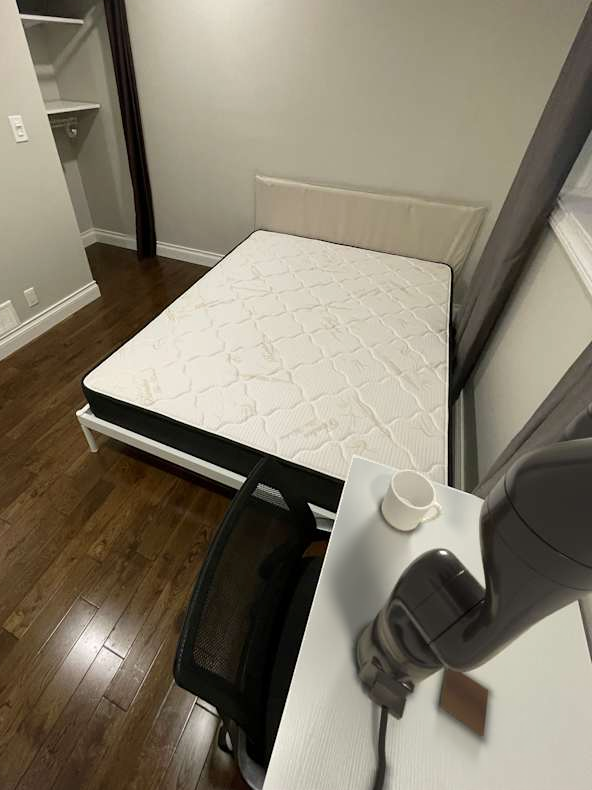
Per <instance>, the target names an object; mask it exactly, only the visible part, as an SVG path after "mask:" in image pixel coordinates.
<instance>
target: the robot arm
mask: <svg viewBox="0 0 592 790" xmlns="http://www.w3.org/2000/svg"><path fill="white" fill-rule="evenodd" d="M478 539H479V551H480V557H481V564H482V570H483V576H484V577H483V578H484V584H485V585H484V586H485V587H484V586H483V585H482V583H481V582H480V581H479V580H478V579H477V578H476V577H475V575H474V574H473V573H472V572H471V571H470V570H469V569H468V568H467V567H466V565H464V563H463V562H462V561H461V560H460V559H459V557H457V555H455V554H454V552H453V551H451V550H450V549H447V548H443V547H438V548H432V549H429V550H426V551H424V552H422V554H420V555H418V556H417V557H416V558H414V559H413V560H412V561H411V562H410V564H408V565H407V566H406V567H405V569H404V570H403V571H402V572H401V574H400V576H399V577H398V579H397V580H396V582H395V584H394V586H393V588H392V590H391V592H390V594H389V596H388V597H387V598H386V600H385V602H384V604H383V606H382V607H381V608H380V610H379V611H378V612H377V614H375V617H374V618H373V619H372V621H371V622H370V623H369V625H368V626H367V627H366V629H365V630H363V632H362V633H361V635H360V636H359V639H358V642H357V646H356V658H357V663H358V667H359V672H358V678H359V679H360V680H362V682H364V683H365V684H367V685H368V686H370V687H371V689H370V692H369V696H368V698H369V699H370V700H371V701H372V702H373V703H374V704H376V705H377V706H379V707H380V708H381V709H380V718H379V727H378V739H377V754H378V756H377V757H378V766H377V773H376V777H375V782H374V787H373V790H383V787H384V782H385V777H386V771H387V769H386V768H387V760H386V758H387V757H386V740H387V738H386V737H387V729H388V718H389V715H391V717H393V718H395V719H396V720H397V721H399V720H401V719H402V718H403V715H404V712H405V707H406V703H407V698H408V697H409V696H411V695H412V694H414V692H415V691H414V690H415V688H416V686H418V685H419V684H421V683H422V682H424V681H425V680H427V679H428V678H430V677H431V676H433V675H434V674H436V673H438V672H440V671H441V670H443V669H444V668H445V667H448V668H449V669H451V670H453V671H455V672H462V673H467V672H471V671H473V670H476V669H478V668H481V667H482V666H484V665H486V664H487V663H489V662H490V661H491V660H493V659H494V658H495V657H497V656H499V654H500V653H502V652H504V650H505V649H506V648H508V647H509V646H511V644H513V643H514V642H515V641H517V640H518V639H519V638H520V637H521V636H522V635H524V634H525V633H527V632H528V631H529V630H530V629H532V628H533V627H534V626H535V625H537V624H539V623H540V622H541V621H543V620H544V619H546V618H547V617H549V616H551V615H553V614H554V613H557V612H558V611H560V610H562V609H564V608H566V607H567V606H570V605H571V604H573V603H575V602H576V601H578V600H581V599H582V598H584V597H586V596H589V595H590V594H592V401H591V402H590V403H589V404H588V406H586V408H584V409H583V410H581V412H579V413H578V414H577V415H575V417H574V418H573V419H572V420H571V422H570V423H569V424H568V425H567V426H566V427H565V428H564V429H563V431H561V433H560V434H559V435H558V437H557V438H556V439H555V440H554V441H553V442H552V443H551V444H548V445H544V446H541V447H537V448H534V449H532V450H530V451H528V452H526V453H524V454H523V455H522V456H520V457H519V458H517V460H516V461H515V462H513V464H512V465H511V467H510V468H509V469H508V470H507V471H506V472H505V474H504V475H503V476H502V477H501V478H500V480H498V481H497V483H496V484H495V486H493V488H492V489H491V490H490V491H489V492H488V494H487V495H486V497H485V498H484V499H483V503H482V504H481V507H480V513H479V518H478Z"/></svg>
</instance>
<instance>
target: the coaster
mask: <svg viewBox="0 0 592 790" xmlns="http://www.w3.org/2000/svg"><path fill="white" fill-rule="evenodd" d="M445 667H446V666H445ZM444 673H445V674H444V679H443V685H442V690H441V696H440V703H439V707H440V708H441V709H442V710H444V711H445V712H446V713H448V714H449V715H451V716H452V717H453V718H455V719H456V720H458V721H459V722H460V723H461V724H463V725H464V726H466V727H467V728H468V729H470V730H471V731H473V732H474V733H476V734H477V735H478V736H480V737H484V735H485V725H486V717H487V706H488V697H489V690H488V689H487V688H486V687H484V686H483V685H481V684H480V683H478V682H477V681H476V680H474V679H473V678H471V677H469V676H468V675H466V674H465V673H464V672H455V671H453V670H451V669H449V668H448V667H446V668H445V672H444Z"/></svg>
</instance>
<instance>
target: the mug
mask: <svg viewBox="0 0 592 790" xmlns="http://www.w3.org/2000/svg"><path fill="white" fill-rule="evenodd" d="M435 488H436V487H435V486H434V484H433V483H432V481H431V480H430V479H429V478H427V476H425V475H424V474H422V473H421V472H418V471H417V470H413V469H406V468H404V469H400V470H398V471H396V472H395V473H394V474H393V475H392V477H391V479H390V482H389V484H388V487H387V489H386V492H385V494H384V495H385V496H384V498H383V501H382V503H381V513H382V516H383V518H384V520H385V521H386V522H387V524H389V525H390V526H391V527H392V528H394V529H396V530H399V531H403V532H404V531H405V532H409V531H413V530H414V529H416V528H417V526H418V525H419V523H423V524H426V523H430V522H434V521H435V520H437V519H439V518H440V517H441V515H442V514H443V508H442V506H441V504H440V503H438V502H437V501H436V500H437V491H436V489H435ZM432 507H433V508H435V510H436V513H434V514H432V515H430V516H428V517H425V516H426V515H427V513H428V512H429V511H430V510H431V508H432Z"/></svg>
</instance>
